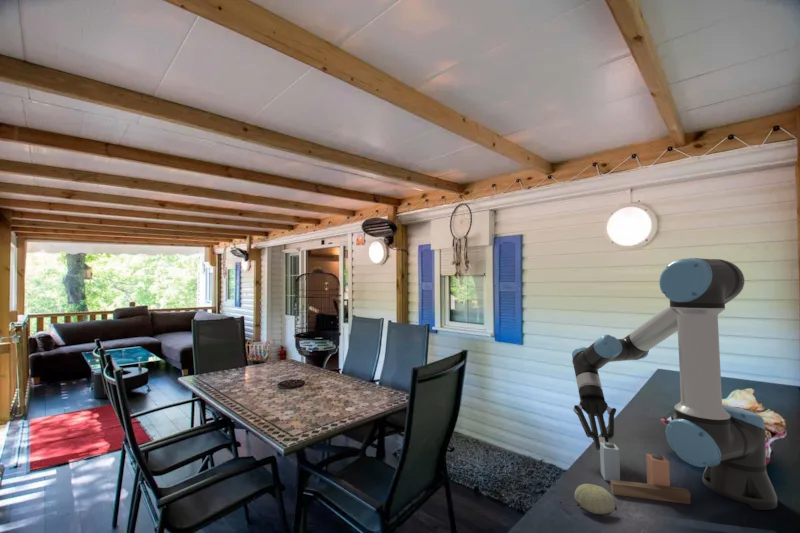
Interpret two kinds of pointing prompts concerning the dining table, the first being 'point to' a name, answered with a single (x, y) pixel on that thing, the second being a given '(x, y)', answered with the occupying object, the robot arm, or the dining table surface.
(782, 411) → the dining table surface
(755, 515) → the dining table surface
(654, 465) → the terracotta plug
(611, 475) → the grey socket block
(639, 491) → the maple board
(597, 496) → the sea urchin shell
